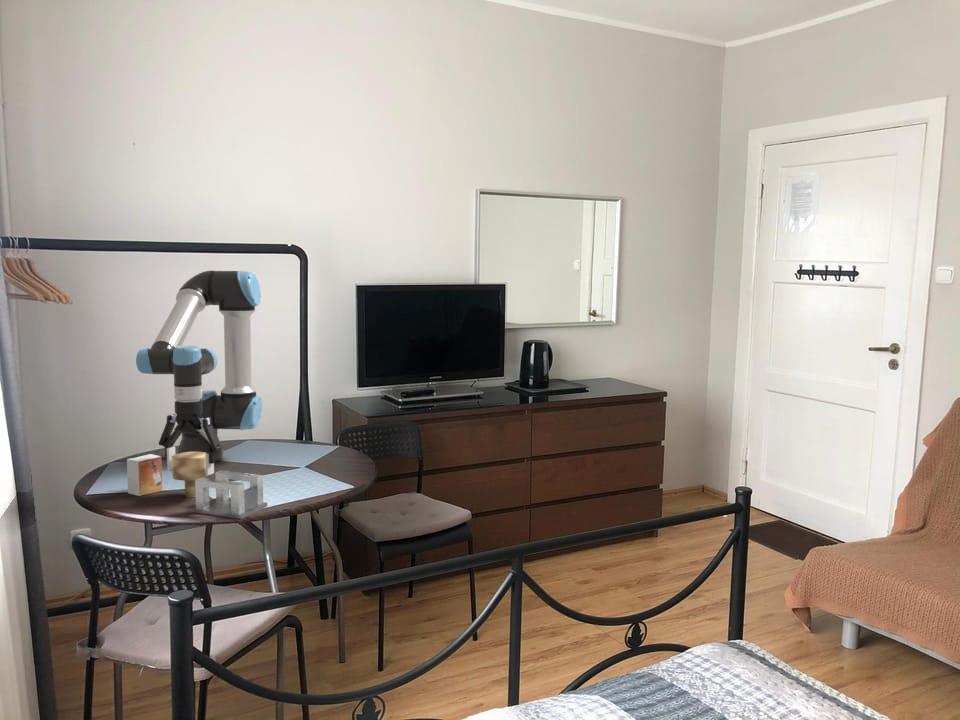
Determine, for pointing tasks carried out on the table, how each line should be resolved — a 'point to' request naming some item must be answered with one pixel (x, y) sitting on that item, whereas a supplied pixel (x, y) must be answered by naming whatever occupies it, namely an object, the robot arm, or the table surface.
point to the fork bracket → (240, 499)
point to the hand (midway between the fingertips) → (190, 471)
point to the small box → (144, 474)
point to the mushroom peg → (189, 469)
